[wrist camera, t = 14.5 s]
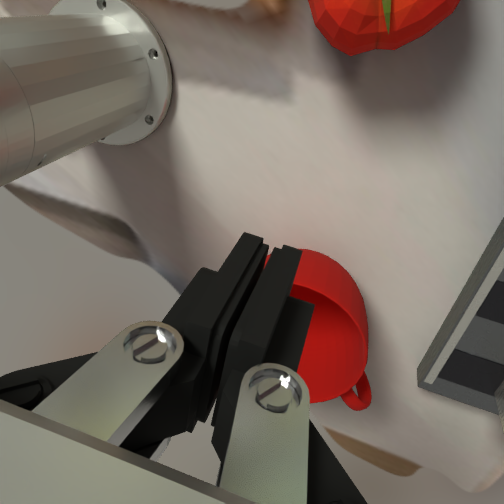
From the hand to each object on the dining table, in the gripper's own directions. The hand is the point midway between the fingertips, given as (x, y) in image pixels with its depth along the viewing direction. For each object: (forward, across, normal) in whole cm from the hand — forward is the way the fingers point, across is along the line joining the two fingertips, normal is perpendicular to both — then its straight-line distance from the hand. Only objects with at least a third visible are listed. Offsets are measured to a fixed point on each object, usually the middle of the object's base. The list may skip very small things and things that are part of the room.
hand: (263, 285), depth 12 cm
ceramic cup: (+27, -3, +19) cm, 33 cm away
